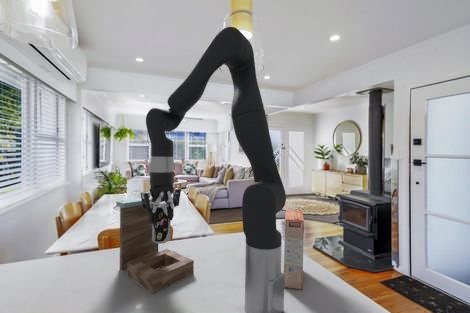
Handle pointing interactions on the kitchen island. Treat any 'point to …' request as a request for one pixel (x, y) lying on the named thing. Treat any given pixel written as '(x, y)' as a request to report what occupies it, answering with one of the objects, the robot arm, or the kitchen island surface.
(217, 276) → the kitchen island surface
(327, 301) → the kitchen island surface
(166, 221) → the beverage can
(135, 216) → the grey-capped wooden panel
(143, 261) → the socket block
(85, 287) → the kitchen island surface
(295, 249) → the cracker box
